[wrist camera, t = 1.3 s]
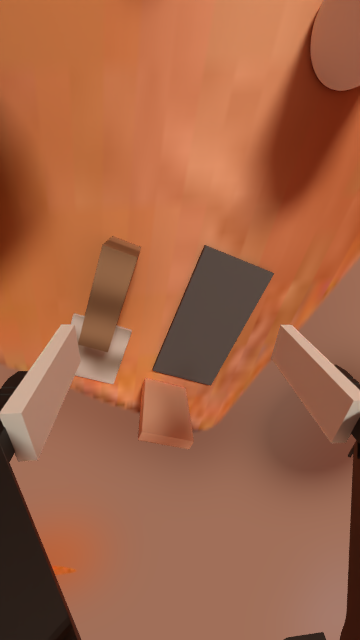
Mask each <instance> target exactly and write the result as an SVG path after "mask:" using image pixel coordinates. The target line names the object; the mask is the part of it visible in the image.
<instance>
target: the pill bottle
mask: <svg viewBox="0 0 360 640" xmlns="http://www.w3.org/2000/svg"><path fill="white" fill-rule="evenodd" d="M310 52H311V61H312V65H313V69H314V71H315V74H316V75H317V77H318V79H319V80H320V81H321V82H322V83H323V84H324V85H325V86H326V87H328V88H330V89H333V90H338V91H344V90H349V89H352V88H355V87H358V86H360V0H324V1H323V3H322V4H321V7H320V9H319V11H318V13H317V16H316V19H315V22H314V25H313V30H312V35H311V45H310Z"/></svg>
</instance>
